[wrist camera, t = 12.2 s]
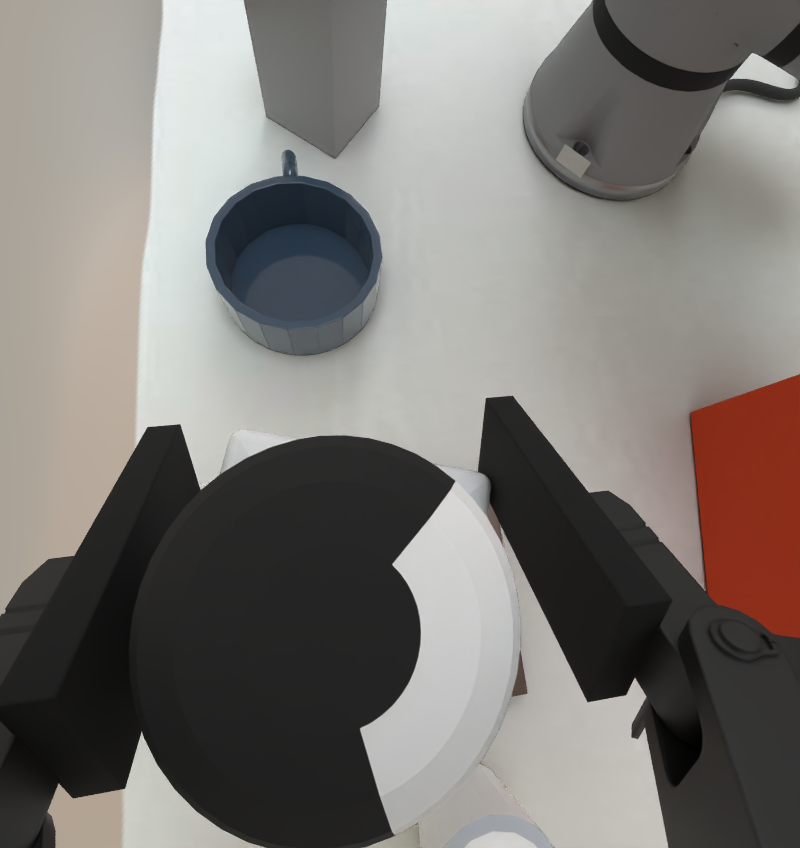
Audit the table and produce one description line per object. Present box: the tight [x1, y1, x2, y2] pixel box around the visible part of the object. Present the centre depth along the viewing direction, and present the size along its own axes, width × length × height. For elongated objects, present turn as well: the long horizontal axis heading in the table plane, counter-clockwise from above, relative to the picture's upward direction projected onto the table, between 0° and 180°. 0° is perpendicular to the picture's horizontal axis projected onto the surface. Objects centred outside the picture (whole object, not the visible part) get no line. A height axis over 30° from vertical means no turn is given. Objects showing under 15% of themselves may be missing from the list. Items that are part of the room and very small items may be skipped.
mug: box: [206, 150, 382, 355], centre depth 33 cm, size 14×11×4 cm
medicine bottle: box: [129, 430, 520, 848], centre depth 12 cm, size 7×7×12 cm
